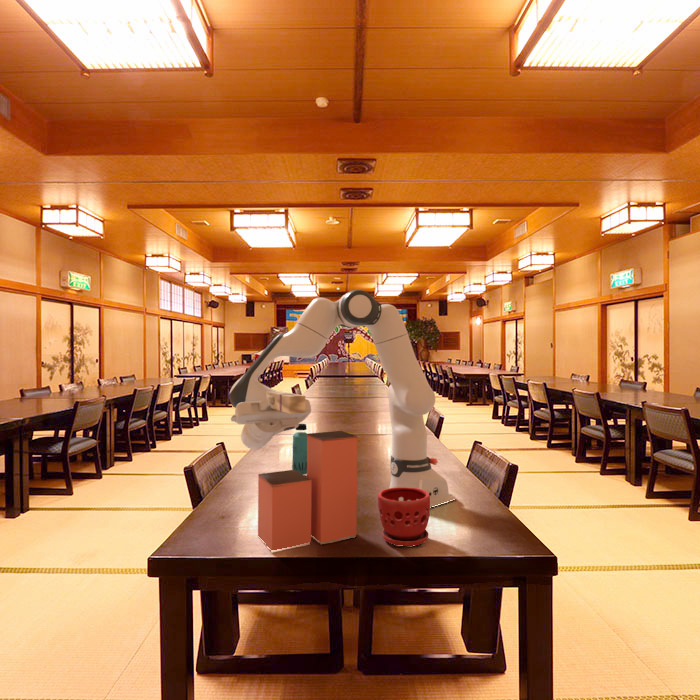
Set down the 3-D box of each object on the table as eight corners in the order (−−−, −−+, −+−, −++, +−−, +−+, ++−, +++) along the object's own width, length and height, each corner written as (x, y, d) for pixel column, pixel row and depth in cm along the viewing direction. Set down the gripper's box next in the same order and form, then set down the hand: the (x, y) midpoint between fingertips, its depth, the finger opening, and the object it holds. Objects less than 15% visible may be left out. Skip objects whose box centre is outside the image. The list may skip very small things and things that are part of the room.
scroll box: (281, 406, 124) (281, 391, 124) (305, 412, 109) (305, 395, 109) (266, 407, 122) (266, 391, 122) (289, 413, 107) (289, 396, 107)
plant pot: (424, 529, 123) (424, 485, 123) (434, 551, 110) (435, 501, 110) (375, 530, 122) (375, 485, 122) (380, 551, 109) (380, 501, 109)
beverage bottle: (300, 473, 178) (301, 421, 178) (312, 476, 174) (313, 423, 174) (288, 476, 173) (288, 423, 173) (300, 480, 169) (301, 425, 169)
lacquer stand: (334, 521, 128) (335, 428, 128) (356, 538, 117) (357, 436, 117) (257, 536, 118) (258, 435, 118) (274, 555, 107) (274, 444, 107)
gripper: (228, 411, 124) (240, 388, 114) (298, 407, 134) (315, 386, 123) (230, 433, 121) (243, 412, 111) (302, 427, 131) (320, 408, 120)
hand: (281, 398), depth 117 cm, fingers closed on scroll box, 4 cm apart
